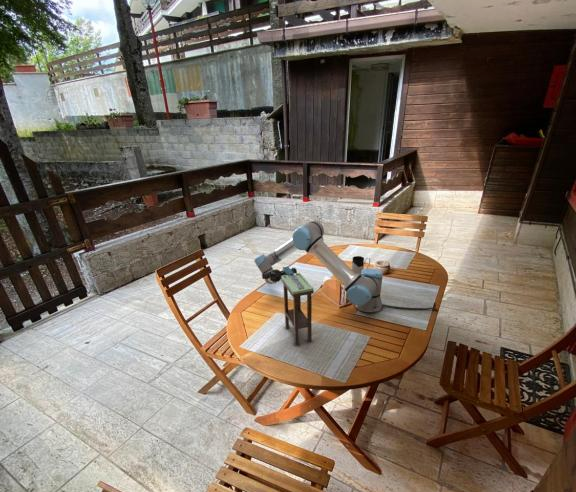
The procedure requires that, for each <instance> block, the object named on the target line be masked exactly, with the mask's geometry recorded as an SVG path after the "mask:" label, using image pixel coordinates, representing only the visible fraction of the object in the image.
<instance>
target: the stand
mask: <svg viewBox="0 0 576 492" xmlns="http://www.w3.org/2000/svg"><path fill="white" fill-rule="evenodd" d="M280 281H281V283H282V285H283V286H282V287H283V305H284V306H283V307H284V323H285V324H284V325H285V330H286V329H290V324H291V325H292V327H293V330H294V331H293V332H294V333H293V334H294V335H293V336H294V345H295V346H299V345H300V343H299V330H302V329H306V335H307V343H312V298H313V297H312V296H313V295H312V294H314V292H315V291H314V289H313V291H308V292H303V293H297V294H292V292H291V291H290V289H289V288H288V287H287V285H286V284H285V282H284V281H283V280H282V278H281V280H280ZM289 294H290V295H291V297H292V302H293V303H292V304H293V306H292V307H293V308H291V309H289ZM302 296H306V314H305V313H304V311H303V310H302V305H301V303H302V302H301V300H302V299H301V297H302Z"/></svg>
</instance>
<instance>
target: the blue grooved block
mask: <svg viewBox="0 0 576 492" xmlns="http://www.w3.org/2000/svg"><path fill="white" fill-rule="evenodd" d="M291 269H292V268H290V266H283V267H282V271H284V272H285V273H286V274H287V276H289V278H290V279H291V280H292V281H293V283H294V284H295V285H296V287H297V288H298V289H299V290H300V289H304V286H303V285H302V284H301V283H300V281H299V280H298V279H297V278H296V276H295V275H296V274H294V273H293V272H292V271H291Z"/></svg>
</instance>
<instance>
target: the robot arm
mask: <svg viewBox="0 0 576 492" xmlns="http://www.w3.org/2000/svg"><path fill="white" fill-rule="evenodd" d="M324 234H325V228H324V226H323V224H322V223H321V222H319V221H317V220H311V221H308V222H307V223H305V224H302V225H301V226H299V227H297V228H296V229H295V230H294V231H293V233H292V235H291V236H292V237H291V238H290V239H289V240H288V241H286V242H284V244H282V245H280V246H279V247H278V248H276V249H274V250H273V251H272V252H270V253H268V254H266V255H265V254H264V253H262V254H259V255H258V256H257V257H255V258H254V260H253V261H254V263H255V265H256V267H257V268H258V270H259V271H260V273H261V277H262V280H264V281H265V283H266V284H269V285H274V284H275V285H276V283H278V282H280V281H281V276H284V275H286V276H287V274H286V273H285V272H284V270H279V269H278V268H277V269H276V268H275V269H274V268H273V266H274V265H276V264H277V263H280V262H281V261H282V260H284V259H286V258H287V257H288V256H290V255H292V254H293V253H295V252H296V251H298V250H299V251H305V252H306V253H307V254H308V255H313V256H314V257H315V258H316V260H318V261H319V262H320V263H321V264H322V265H323V267H325V268H326V269H327V270H328V271H329V272H330V273H331V274H332V275H333V276H334V277H335V278H336V279H337V280H338V281H339V282H340V283H341V284H342V285H343V290H344V291H345V292H346V296H347V297H346V298H347V299H348V301H349V302H350V303H352V304H353V305H354V307H355V308H356V309H357V310H358V311H360V312H363V313H366V314H374V313H378V312H380V311H381V310H382V308H383V307H386V308H393V309H399V310H409V311H410V310H415V311H429V310H434V311H436V312H438V311H439V310H438V309H437V308H436V307H404V306H394V305H389V304H383V302H382V301H383V300H382V298H381V292H382V283H383V279H384V277H383V276H384V273H383V271H381V270H379V269H377V268H373V267H372V268H370V267H368V268H367V267H366V268H367V269H366V268H363V270H362V272H361V274H356V273H354V272H353V271H352V268H350V266H349V265H347V263H345V262H344V260H343V259H342V258H341V257H339V256H338V255H337V254H336V253H335V251H333V250H332V249H331V248H330V246H328V245H327V244H326V243H325V241H324ZM290 269H291V271H292V272H293V273H294V275H296V273H298V270H297V268H296V267H292V268H290Z"/></svg>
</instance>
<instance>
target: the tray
mask: <svg viewBox="0 0 576 492" xmlns="http://www.w3.org/2000/svg"><path fill="white" fill-rule="evenodd" d="M294 275H295V276H296V278H297V279H298V280H299V281H300V283H301V284H302V285H303V286H304V289H300V290H299V289H298V288H297V287H296V285H295V284H294V283H293V281H292V280H291V279H290V278H289V276H286V275H284V276H281V278H282V280H283V281H284V282H285V284H286V285H287V287H288V288H289V289H290V291H291V292H292V294H297V293H303V292H308V291H313V290H314V287H313V286H312V285H311V283H309V281H308V280H307V279H306V278H305V276H304V275H303V274H302V273H301V272H297V273H295V274H294Z"/></svg>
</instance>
